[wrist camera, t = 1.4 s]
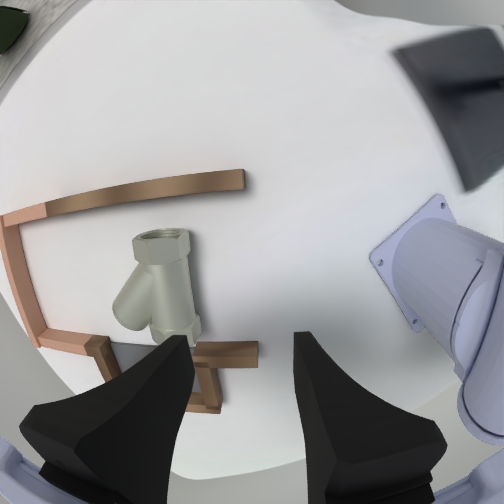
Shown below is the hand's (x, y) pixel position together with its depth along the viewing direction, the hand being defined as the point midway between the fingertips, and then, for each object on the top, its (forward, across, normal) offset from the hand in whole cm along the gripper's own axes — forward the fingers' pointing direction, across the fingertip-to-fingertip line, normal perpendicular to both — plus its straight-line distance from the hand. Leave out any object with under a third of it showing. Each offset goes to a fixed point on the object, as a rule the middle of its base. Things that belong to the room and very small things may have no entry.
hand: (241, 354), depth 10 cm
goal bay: (+9, +20, 0) cm, 22 cm away
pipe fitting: (+10, +8, 0) cm, 12 cm away
